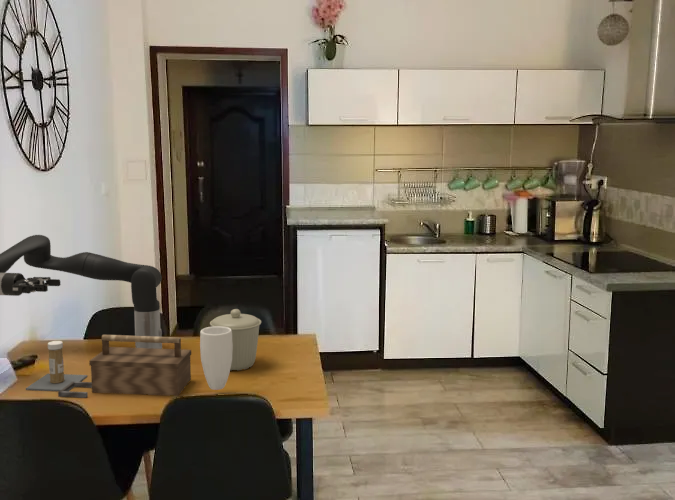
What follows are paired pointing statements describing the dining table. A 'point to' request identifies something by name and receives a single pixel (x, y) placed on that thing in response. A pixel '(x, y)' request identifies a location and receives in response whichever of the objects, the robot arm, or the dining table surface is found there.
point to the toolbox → (136, 368)
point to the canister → (241, 337)
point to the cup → (216, 355)
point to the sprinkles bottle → (56, 361)
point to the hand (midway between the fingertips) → (53, 285)
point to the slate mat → (46, 385)
